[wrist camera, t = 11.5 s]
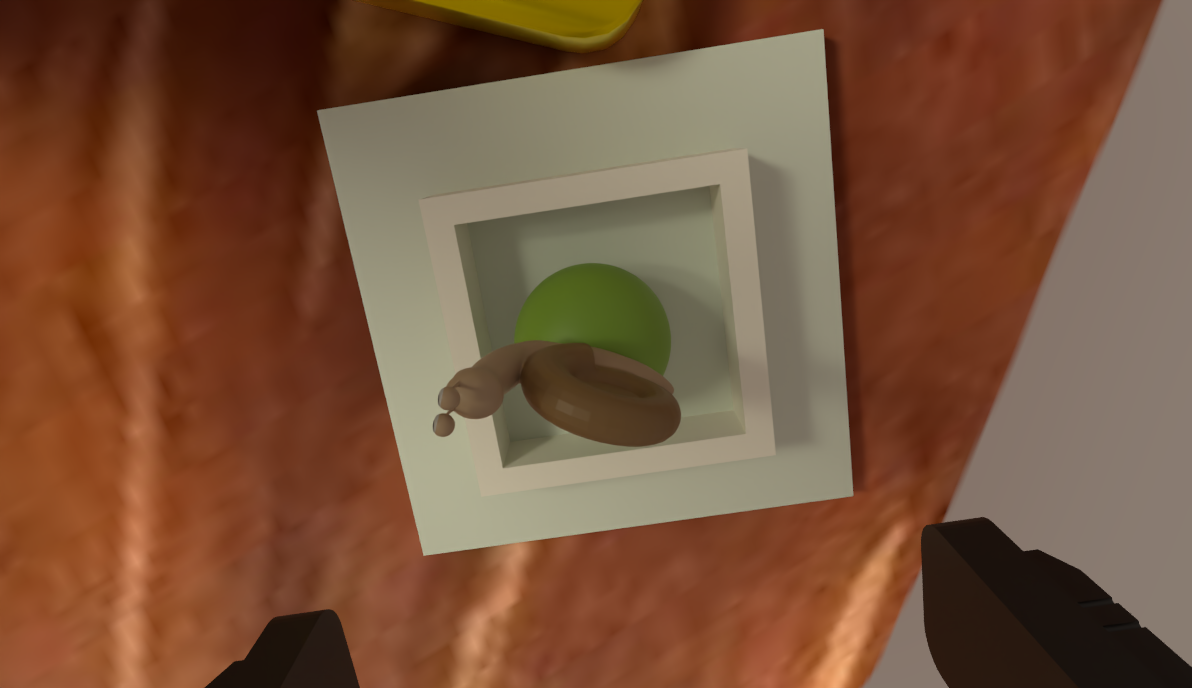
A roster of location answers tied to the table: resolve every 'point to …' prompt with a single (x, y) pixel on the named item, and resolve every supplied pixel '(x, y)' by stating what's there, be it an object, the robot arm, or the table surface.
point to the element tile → (532, 19)
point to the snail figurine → (580, 361)
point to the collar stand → (619, 238)
